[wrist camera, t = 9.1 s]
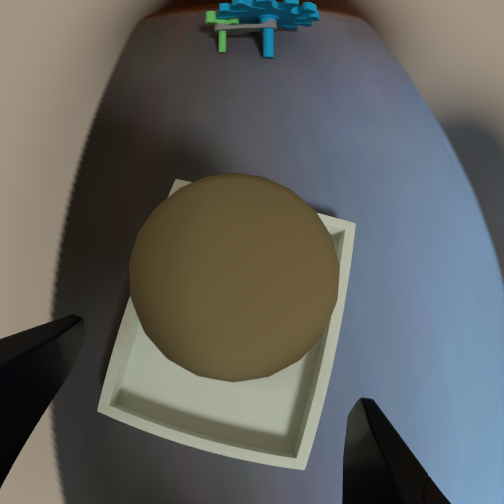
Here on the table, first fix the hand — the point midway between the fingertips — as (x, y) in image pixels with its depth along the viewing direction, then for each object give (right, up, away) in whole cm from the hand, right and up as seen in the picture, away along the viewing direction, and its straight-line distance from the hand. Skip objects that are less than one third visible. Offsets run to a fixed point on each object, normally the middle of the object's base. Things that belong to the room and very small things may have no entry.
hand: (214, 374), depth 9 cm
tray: (0, 0, +8) cm, 8 cm away
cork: (0, 0, +8) cm, 8 cm away
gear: (+2, +25, +19) cm, 31 cm away
